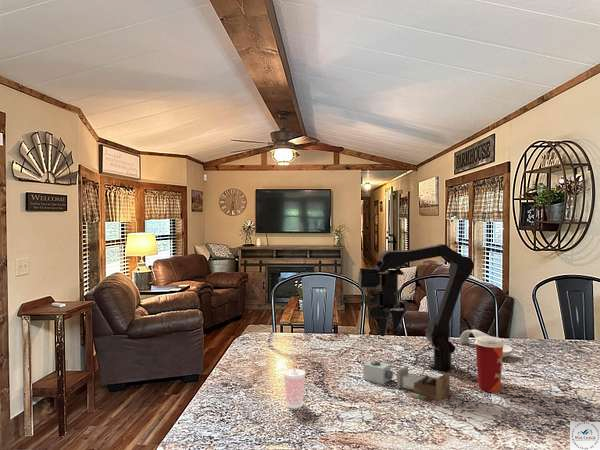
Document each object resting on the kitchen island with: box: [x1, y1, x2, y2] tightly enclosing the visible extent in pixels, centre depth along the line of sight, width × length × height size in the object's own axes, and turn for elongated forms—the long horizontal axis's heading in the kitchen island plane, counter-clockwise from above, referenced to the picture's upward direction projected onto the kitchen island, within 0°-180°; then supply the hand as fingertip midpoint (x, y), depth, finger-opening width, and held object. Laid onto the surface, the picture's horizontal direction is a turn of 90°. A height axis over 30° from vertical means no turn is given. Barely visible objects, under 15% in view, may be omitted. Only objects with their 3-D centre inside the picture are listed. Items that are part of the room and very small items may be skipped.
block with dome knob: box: [362, 359, 394, 385], centre depth 142 cm, size 5×8×6 cm, turn 52°
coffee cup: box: [474, 335, 504, 393], centre depth 135 cm, size 8×8×15 cm
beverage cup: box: [283, 353, 306, 409], centre depth 123 cm, size 6×6×14 cm
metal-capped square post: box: [396, 366, 434, 391], centre depth 134 cm, size 7×10×5 cm
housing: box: [407, 372, 451, 402], centre depth 131 cm, size 10×9×6 cm
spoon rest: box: [458, 329, 514, 359], centre depth 172 cm, size 24×12×7 cm, turn 20°
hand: (389, 333), depth 153 cm, fingers open, 9 cm apart
